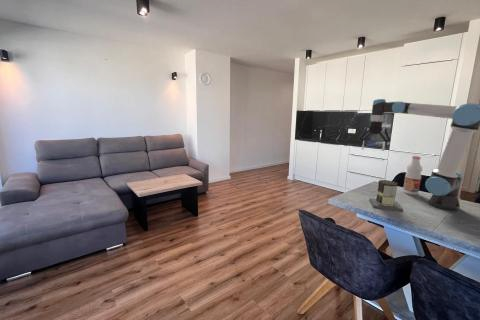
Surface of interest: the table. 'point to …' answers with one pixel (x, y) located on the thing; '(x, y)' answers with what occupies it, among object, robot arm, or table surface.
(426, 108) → the robot arm
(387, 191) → the coffee can
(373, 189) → the table surface
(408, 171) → the fruit juice
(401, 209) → the mat
